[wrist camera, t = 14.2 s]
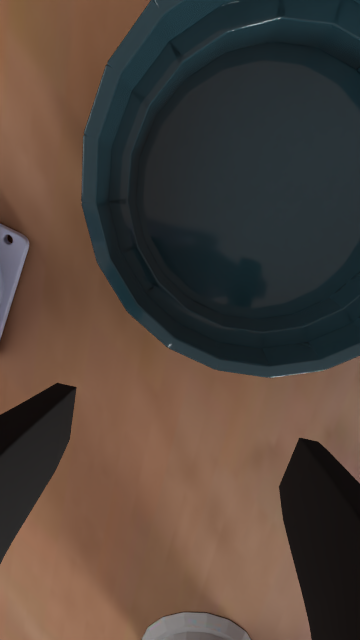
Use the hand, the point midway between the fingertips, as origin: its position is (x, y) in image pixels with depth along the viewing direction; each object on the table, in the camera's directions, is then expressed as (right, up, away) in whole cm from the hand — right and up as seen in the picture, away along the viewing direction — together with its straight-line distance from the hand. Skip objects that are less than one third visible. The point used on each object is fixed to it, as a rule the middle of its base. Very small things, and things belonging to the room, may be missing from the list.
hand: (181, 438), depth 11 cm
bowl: (+4, +10, +6) cm, 12 cm away
